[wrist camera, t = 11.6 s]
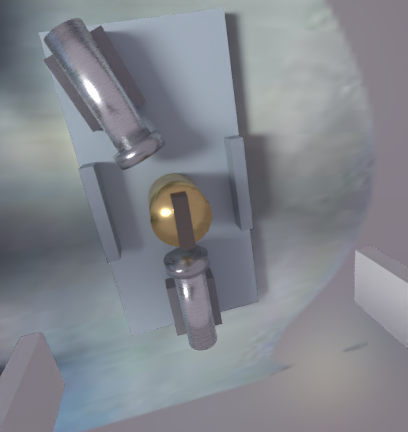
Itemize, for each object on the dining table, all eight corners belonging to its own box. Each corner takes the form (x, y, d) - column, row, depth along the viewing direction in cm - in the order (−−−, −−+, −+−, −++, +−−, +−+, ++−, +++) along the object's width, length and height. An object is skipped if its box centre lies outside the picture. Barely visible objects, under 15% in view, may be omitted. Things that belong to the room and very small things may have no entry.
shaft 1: (119, 164, 28) (115, 177, 23) (46, 57, 24) (21, 43, 19) (166, 136, 28) (172, 142, 23) (100, 24, 24) (89, 2, 19)
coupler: (153, 226, 31) (158, 260, 24) (143, 178, 29) (144, 199, 22) (202, 216, 32) (219, 246, 25) (194, 168, 30) (211, 186, 23)
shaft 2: (180, 331, 34) (186, 359, 30) (161, 251, 30) (165, 272, 27) (217, 321, 34) (227, 348, 31) (203, 241, 31) (212, 260, 27)
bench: (132, 326, 36) (131, 349, 33) (43, 36, 25) (29, 25, 22) (253, 294, 38) (265, 313, 34) (219, 12, 27) (231, -1, 24)
